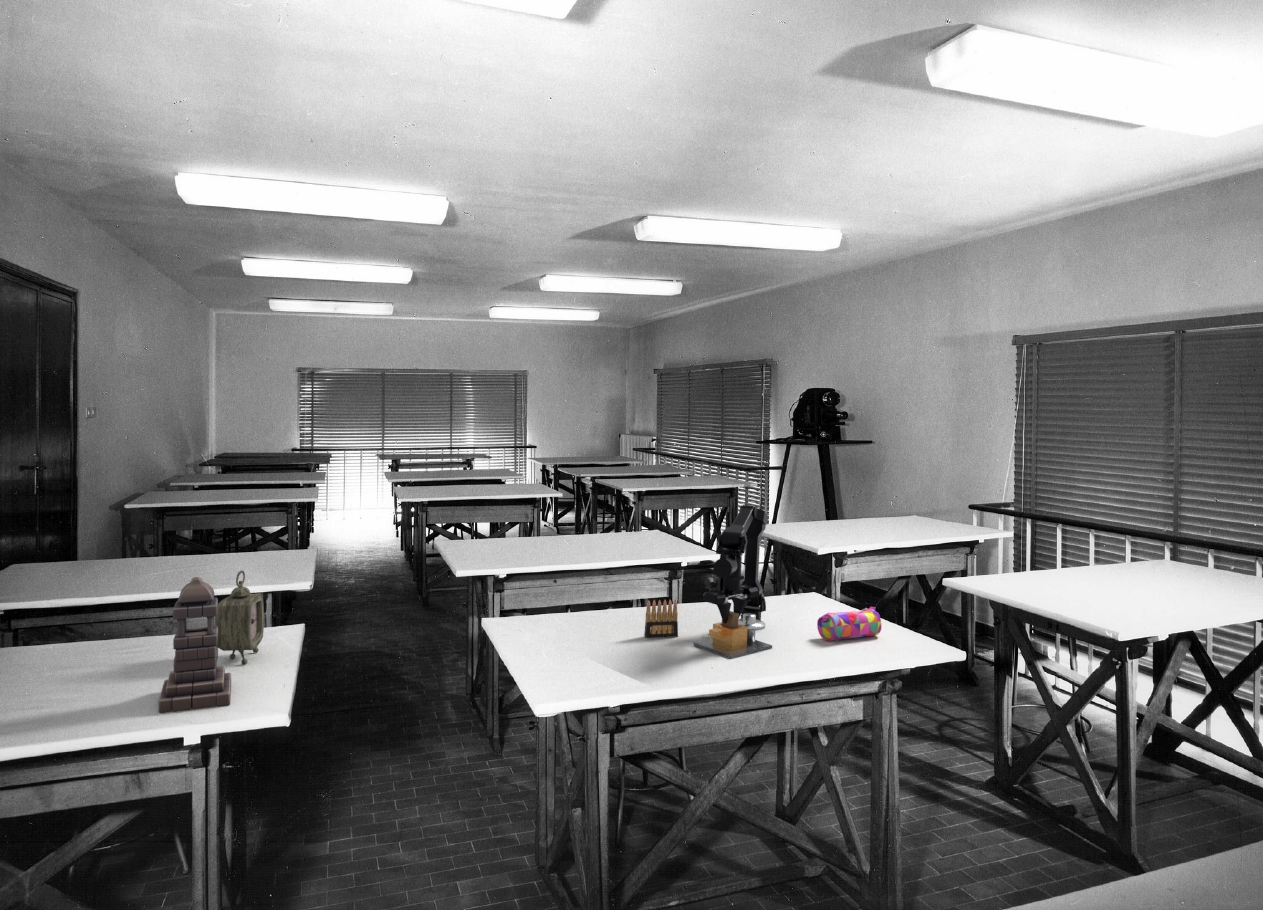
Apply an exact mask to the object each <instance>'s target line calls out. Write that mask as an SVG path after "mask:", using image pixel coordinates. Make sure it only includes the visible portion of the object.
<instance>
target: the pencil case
mask: <svg viewBox="0 0 1263 910" xmlns="http://www.w3.org/2000/svg"><path fill="white" fill-rule="evenodd" d="M816 624H817V626H816V627H817V631H818V634H819V635H820V637H821V638H822V639H823V640H825V641H826V640H827V641H826V642H833V641H838V640H840V641H841V640H847V639H848V640H850V639H857V638H863V637H864V636H866V637H872V636H873V637H874V635H875V636H878V635H880V633H881V631H882V618H881V615H880V614H879V612H877V611H876V607H874V606H870V607H869V608H867V607H865V608H863V609H861V610H859V611H856V610H855V611H854V610H853V611H838V612H826V613H825V614H824V615H822V616H819V618H818V619H817V623H816Z"/></svg>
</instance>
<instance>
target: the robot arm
mask: <svg viewBox="0 0 1263 910" xmlns="http://www.w3.org/2000/svg"><path fill="white" fill-rule="evenodd" d="M768 517H769V515H768V514H767V512H766V511H765V510H762V509H761V508H758V506H756V505H752V504H751V505H750V504H741V505H740V507H739V512H738V514H737V515H736V517H735V518H734V521H733V523H732V524H731V525H730V526H728V527H725V529H723V531H722V533H720V535H719V538H718V541H717V547H716V551H715V554H716V555H719V558H718V559H717V560H716V561H715V562H714V563H713V566H712V567H713V568H712V570H713V573H714V574H715V575H716V576H717V577H718V578H717V579H714V578H713V577H707V578H705V579H704V588H705V589H707V590H709V591H705V592H704V593H703V596H702V600H703V602H705V603H709V604H713V605H716V606H717V608H718V611H719V614H720V617H721V622H722V621H723V623H725V624H726V623H727V620H728V616H729V612H730V611H731V607H733V610H732V612H735V613H739V618H740V619H743V614H745V613H751V614H755V615H756V620H760V621H762V613H763V612H766V611H767V602H766V599H765V596H764V593H763V591H764V590H763V586H762V585H761V583H760V581H759V568H760V567H759V566H760V548H761V536H762V535H763V533H764V532H765V530H766V526H767V525H768V522H769V521H768ZM743 554H745V556H744V557H745V558H744V559H745V560H744V561H745V562H744V575H742V563H743V562H742V560H743V557H742V556H743ZM742 580H743V581H742ZM729 599H730V600H731V601H732V602H730V601H729ZM732 603H733V606H732Z"/></svg>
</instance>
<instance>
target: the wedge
mask: <svg viewBox="0 0 1263 910" xmlns="http://www.w3.org/2000/svg"><path fill="white" fill-rule="evenodd" d="M738 619H740V617H739V613H735V612H733V610H732V611H731V610H730V612H729V616H728V620H727V623H726V624H725V623H723V621H722V620H721V622H722V625H723V626H726V627H729V628H732V629H733V628H738Z"/></svg>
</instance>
